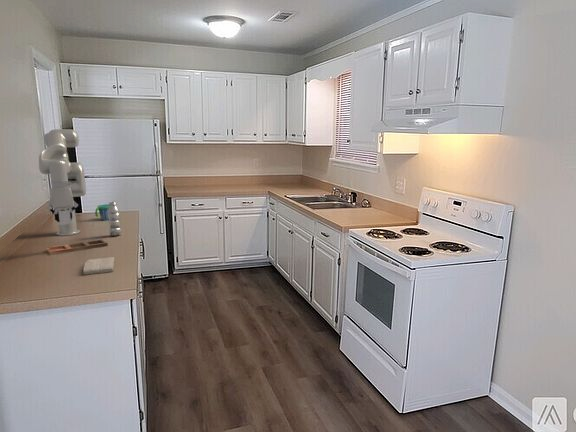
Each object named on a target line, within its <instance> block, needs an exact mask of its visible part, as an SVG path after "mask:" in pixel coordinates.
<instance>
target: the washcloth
mask: <svg viewBox="0 0 576 432" xmlns="http://www.w3.org/2000/svg"><path fill="white" fill-rule="evenodd" d="M115 260H116V258H115V257H113V256H111V257H110V256H109V257H104V258H101V257H100V258H91V259H87V260H86V261H85V263H84V266H83V276H85V275H95V274H105V273H113V272H114V267H115V262H116V261H115Z"/></svg>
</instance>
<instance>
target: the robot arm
mask: <svg viewBox="0 0 576 432" xmlns="http://www.w3.org/2000/svg"><path fill="white" fill-rule="evenodd" d="M43 141H44V143H45V146H46V148H44V149H43V150H42V151H41V152H40V153H39V155H38V169H39V171H40V173H41V174H43V175H49V177H50V185H51V186H50V188H49V192H48V193H49V196H48V197H49V203H47V205H46V206H45V209H46V210H47V211H49V212H51V213H53V214H54V215H53V216H54V220H55V221H56V222H57V224H58V222H59V215H58V213H57V211H58V210H62V209H68V210H70V218H71V224H65V225H59V224H58V231H57V232H56V235H57V236H61V237H64V236H74V235H79V234H80V233H81V230H80V229H77V227H78V226H77V218H76V217H77V216H76V208H77V207H79V204H78V203H77V202H76V201H75V200H74V198H76V197H84V196H85V195H86V194H87V186H86V178H85V177H86V176H85V170H84V166H83V164H82V163H81V162H70V160H69V155H68V152H67V148H77V147H78V146H79V143H80V142H79V141H80V140H79V135H78V133H77V131H76V130H74V129H70V128H67V129H66V128H64V129H61V128H56V129H51V130H50V131H49V132H47V133H45V134H44V136H43ZM71 179H75V180H71Z"/></svg>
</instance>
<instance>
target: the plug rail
mask: <svg viewBox="0 0 576 432" xmlns="http://www.w3.org/2000/svg"><path fill="white" fill-rule="evenodd" d="M107 246H109V244H108V242H107V241H105V240H104V239H101V238H100V239H96V240H94V239H93V240H88V241H82V242H76V243H74V242H73V243H69V244H62V245H56V246H50V247H46V248H45V251H46V253H48V254H49V255H50V256H54V255H59V254H65V253H66V254H67V253H72V252H78V251H84V250H90V249H96V248H97V249H98V248H103V247H107Z"/></svg>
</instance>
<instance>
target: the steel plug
mask: <svg viewBox="0 0 576 432" xmlns="http://www.w3.org/2000/svg"><path fill="white" fill-rule="evenodd" d="M57 213H58V215H59V222H57V224H59V225H65V224H71V218H70V210H68V209H62V210H58V211H57ZM59 225H58V226H59Z"/></svg>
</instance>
